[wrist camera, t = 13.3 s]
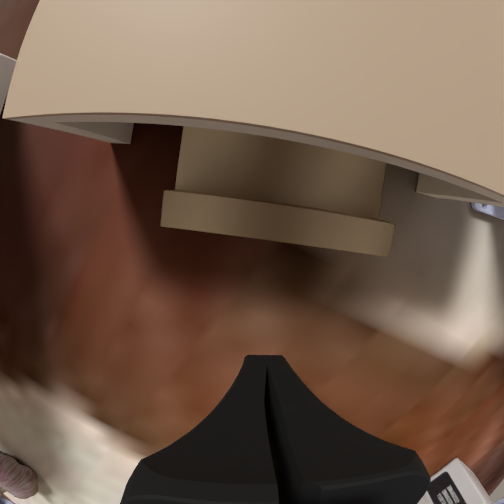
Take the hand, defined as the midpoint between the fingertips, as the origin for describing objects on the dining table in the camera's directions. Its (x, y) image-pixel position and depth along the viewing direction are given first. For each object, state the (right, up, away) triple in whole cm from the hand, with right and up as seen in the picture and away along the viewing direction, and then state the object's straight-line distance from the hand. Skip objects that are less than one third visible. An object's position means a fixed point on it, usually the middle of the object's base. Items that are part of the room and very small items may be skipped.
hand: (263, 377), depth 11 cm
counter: (+2, +14, +3) cm, 14 cm away
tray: (+1, +11, +4) cm, 12 cm away
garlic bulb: (-28, -20, +11) cm, 36 cm away
